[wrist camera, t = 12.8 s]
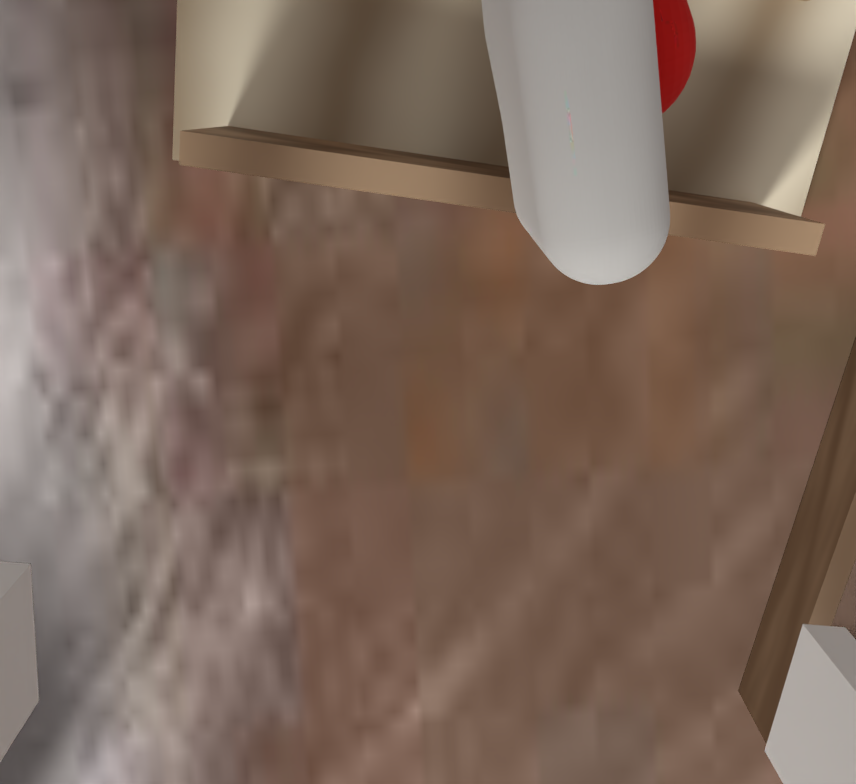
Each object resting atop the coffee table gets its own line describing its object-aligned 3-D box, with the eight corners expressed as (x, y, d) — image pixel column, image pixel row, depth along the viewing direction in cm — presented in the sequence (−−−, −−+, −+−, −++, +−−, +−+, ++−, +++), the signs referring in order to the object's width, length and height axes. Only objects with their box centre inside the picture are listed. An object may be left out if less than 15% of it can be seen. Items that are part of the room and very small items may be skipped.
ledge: (183, 157, 31) (112, 172, 24) (194, -136, 28) (114, -217, 21) (775, 242, 33) (871, 280, 25) (853, -31, 29) (988, -74, 22)
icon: (641, 211, 26) (759, 271, 17) (511, 235, 26) (556, 307, 17) (600, -229, 22) (726, -474, 13) (447, -195, 22) (460, -412, 13)
